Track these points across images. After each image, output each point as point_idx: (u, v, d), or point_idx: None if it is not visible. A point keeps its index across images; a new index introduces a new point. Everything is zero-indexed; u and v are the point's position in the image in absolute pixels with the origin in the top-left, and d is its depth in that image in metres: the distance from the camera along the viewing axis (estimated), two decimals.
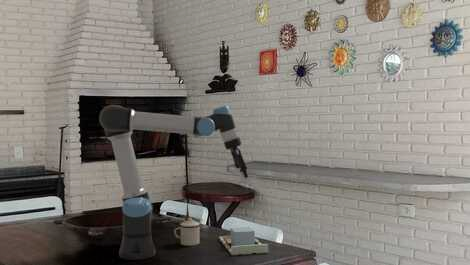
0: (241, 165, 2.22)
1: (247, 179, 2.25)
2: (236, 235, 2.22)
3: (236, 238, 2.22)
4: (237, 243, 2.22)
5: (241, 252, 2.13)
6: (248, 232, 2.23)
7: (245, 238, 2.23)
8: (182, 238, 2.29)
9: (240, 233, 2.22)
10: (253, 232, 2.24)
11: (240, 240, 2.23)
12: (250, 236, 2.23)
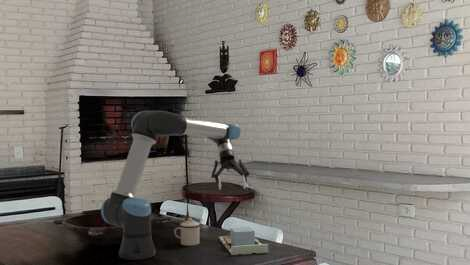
0: None
1: None
2: (236, 235, 2.22)
3: (236, 238, 2.22)
4: (237, 243, 2.22)
5: (241, 252, 2.13)
6: (248, 232, 2.23)
7: (245, 238, 2.23)
8: (182, 238, 2.29)
9: (240, 233, 2.22)
10: (253, 232, 2.24)
11: (240, 240, 2.23)
12: (250, 236, 2.24)
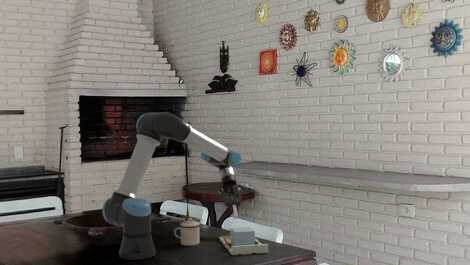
0: (240, 200, 2.50)
1: None
2: (236, 235, 2.22)
3: (236, 238, 2.22)
4: (237, 243, 2.22)
5: (241, 252, 2.13)
6: (248, 232, 2.23)
7: (245, 238, 2.23)
8: (182, 238, 2.29)
9: (240, 233, 2.22)
10: (253, 232, 2.24)
11: (240, 240, 2.23)
12: (250, 236, 2.24)
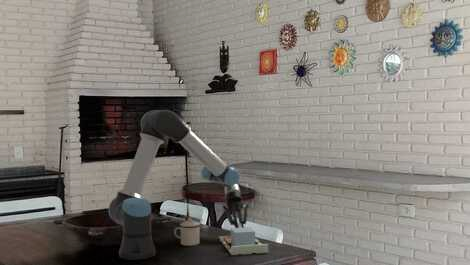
0: None
1: None
2: (237, 236, 2.21)
3: (237, 239, 2.21)
4: (237, 243, 2.21)
5: (241, 252, 2.13)
6: (249, 232, 2.22)
7: (245, 239, 2.22)
8: (182, 238, 2.29)
9: (241, 233, 2.21)
10: (254, 232, 2.22)
11: (241, 241, 2.21)
12: (251, 237, 2.22)
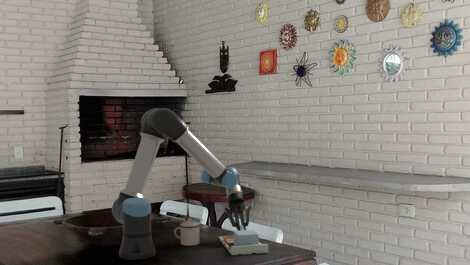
0: (248, 220, 2.33)
1: None
2: (239, 238, 2.16)
3: (239, 241, 2.16)
4: None
5: (241, 252, 2.13)
6: (252, 235, 2.17)
7: (248, 242, 2.17)
8: (182, 238, 2.29)
9: (244, 236, 2.16)
10: (257, 235, 2.17)
11: (244, 243, 2.16)
12: (254, 239, 2.17)
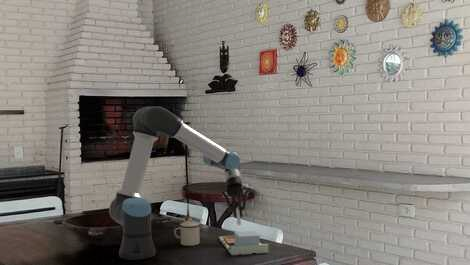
0: (245, 204, 2.38)
1: None
2: (240, 240, 2.14)
3: (240, 243, 2.14)
4: None
5: (241, 252, 2.13)
6: (253, 236, 2.15)
7: (249, 243, 2.15)
8: (182, 238, 2.29)
9: (244, 237, 2.14)
10: (258, 236, 2.15)
11: None
12: (255, 241, 2.15)
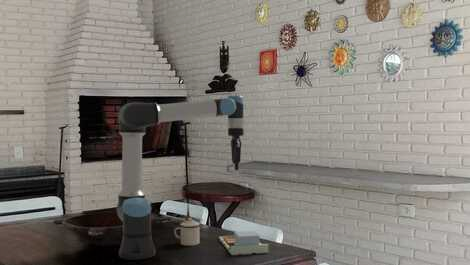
0: (236, 158, 2.38)
1: (236, 171, 2.42)
2: (240, 240, 2.14)
3: (240, 243, 2.14)
4: None
5: (241, 252, 2.13)
6: (253, 236, 2.15)
7: (249, 243, 2.15)
8: (182, 238, 2.29)
9: (244, 237, 2.14)
10: (258, 236, 2.15)
11: None
12: (255, 241, 2.15)
